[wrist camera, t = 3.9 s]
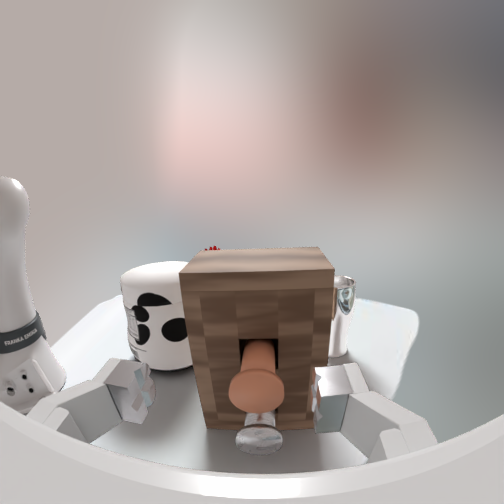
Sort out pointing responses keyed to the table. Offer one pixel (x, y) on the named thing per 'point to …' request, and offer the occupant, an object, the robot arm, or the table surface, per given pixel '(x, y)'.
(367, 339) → the table surface
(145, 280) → the milk container
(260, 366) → the terracotta plug
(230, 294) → the box
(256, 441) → the grey plug
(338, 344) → the white hollow cylinder
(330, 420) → the robot arm
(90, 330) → the table surface
